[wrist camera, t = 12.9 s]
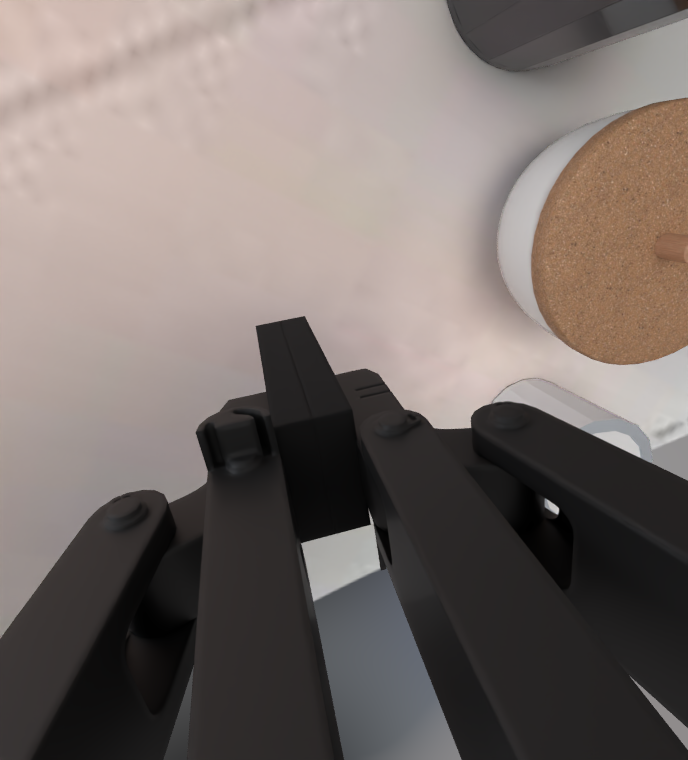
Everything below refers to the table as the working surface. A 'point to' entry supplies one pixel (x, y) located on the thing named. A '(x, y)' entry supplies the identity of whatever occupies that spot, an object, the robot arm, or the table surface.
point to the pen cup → (555, 27)
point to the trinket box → (605, 236)
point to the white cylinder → (579, 417)
